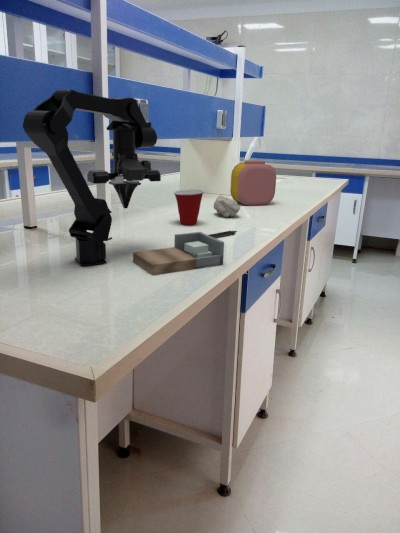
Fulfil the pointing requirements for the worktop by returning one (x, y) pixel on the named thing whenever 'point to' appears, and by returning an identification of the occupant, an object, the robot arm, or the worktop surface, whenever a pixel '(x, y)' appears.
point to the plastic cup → (189, 205)
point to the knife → (222, 234)
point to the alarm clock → (253, 183)
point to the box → (213, 243)
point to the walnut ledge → (164, 260)
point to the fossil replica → (226, 206)
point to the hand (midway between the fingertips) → (125, 208)
